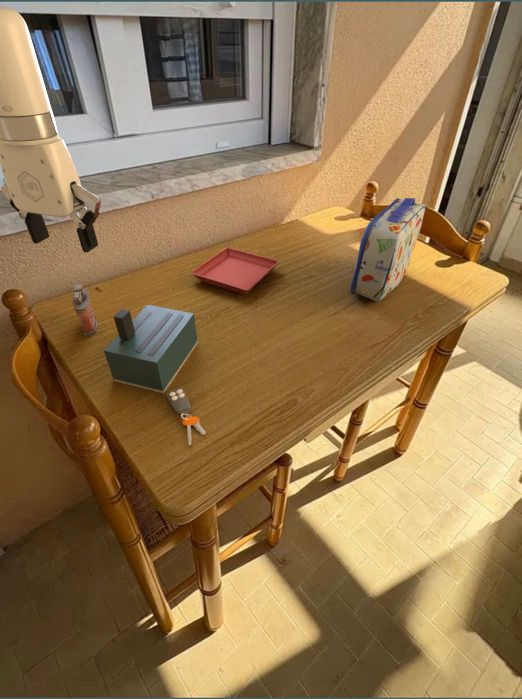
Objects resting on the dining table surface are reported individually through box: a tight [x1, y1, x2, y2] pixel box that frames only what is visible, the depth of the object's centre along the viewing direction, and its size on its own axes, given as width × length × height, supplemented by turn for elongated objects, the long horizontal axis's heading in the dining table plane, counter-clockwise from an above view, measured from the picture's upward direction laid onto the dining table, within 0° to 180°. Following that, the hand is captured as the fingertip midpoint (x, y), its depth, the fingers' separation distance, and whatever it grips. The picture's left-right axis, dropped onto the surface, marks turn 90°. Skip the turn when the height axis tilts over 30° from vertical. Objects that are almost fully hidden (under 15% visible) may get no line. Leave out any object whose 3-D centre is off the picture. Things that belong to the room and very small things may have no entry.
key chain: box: [165, 387, 207, 447], centre depth 69 cm, size 13×4×2 cm, turn 30°
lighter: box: [72, 283, 99, 337], centre depth 86 cm, size 8×3×10 cm, turn 17°
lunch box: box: [349, 197, 426, 303], centre depth 98 cm, size 28×10×22 cm, turn 148°
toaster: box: [103, 304, 199, 395], centre depth 78 cm, size 11×16×8 cm
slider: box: [113, 308, 135, 340], centre depth 72 cm, size 2×3×5 cm
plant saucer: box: [191, 247, 280, 295], centre depth 106 cm, size 18×18×3 cm
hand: (66, 244), depth 63 cm, fingers open, 9 cm apart
